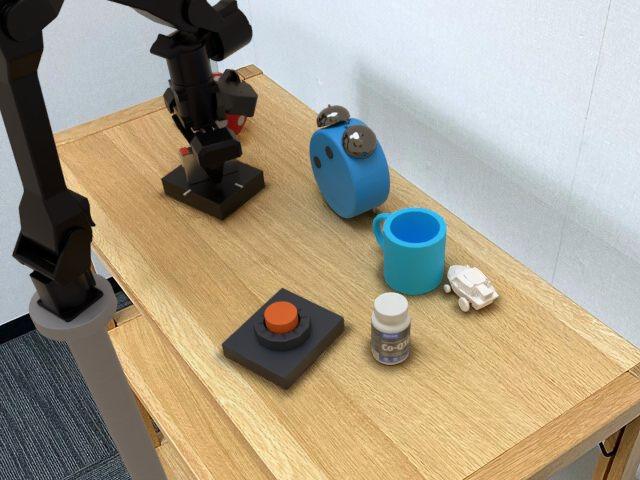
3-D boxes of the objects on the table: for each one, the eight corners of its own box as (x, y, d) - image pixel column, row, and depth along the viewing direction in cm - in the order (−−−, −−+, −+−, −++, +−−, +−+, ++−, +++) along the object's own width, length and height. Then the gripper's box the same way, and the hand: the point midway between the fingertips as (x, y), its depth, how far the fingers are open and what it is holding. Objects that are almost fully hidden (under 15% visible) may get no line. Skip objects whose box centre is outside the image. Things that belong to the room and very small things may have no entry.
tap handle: (234, 163, 117) (229, 134, 113) (238, 170, 115) (233, 140, 111) (184, 178, 115) (177, 148, 111) (188, 185, 113) (181, 155, 109)
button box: (286, 390, 90) (283, 368, 87) (224, 355, 94) (218, 334, 91) (344, 329, 97) (343, 307, 94) (283, 299, 101) (280, 277, 98)
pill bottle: (382, 371, 92) (381, 323, 85) (365, 345, 95) (363, 297, 88) (416, 357, 93) (418, 309, 87) (398, 332, 96) (399, 284, 89)
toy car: (471, 320, 97) (474, 297, 94) (435, 284, 101) (436, 261, 98) (501, 305, 98) (504, 282, 95) (463, 270, 103) (466, 247, 100)
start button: (284, 339, 91) (283, 329, 90) (259, 326, 93) (257, 316, 91) (304, 319, 93) (303, 309, 92) (279, 306, 95) (278, 296, 93)
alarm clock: (391, 221, 111) (392, 131, 99) (356, 237, 108) (352, 147, 97) (344, 178, 118) (339, 90, 107) (310, 192, 116) (302, 103, 105)
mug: (456, 274, 102) (460, 227, 96) (412, 303, 99) (414, 256, 93) (395, 233, 109) (396, 186, 103) (352, 259, 105) (350, 212, 99)
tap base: (270, 183, 118) (268, 166, 116) (218, 225, 112) (214, 208, 109) (212, 159, 123) (209, 142, 121) (159, 198, 116) (154, 181, 114)
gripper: (270, 92, 99) (283, 189, 111) (225, 34, 111) (241, 128, 122) (189, 114, 96) (210, 211, 108) (151, 52, 108) (174, 146, 120)
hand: (211, 171), depth 115 cm, fingers open, 6 cm apart
